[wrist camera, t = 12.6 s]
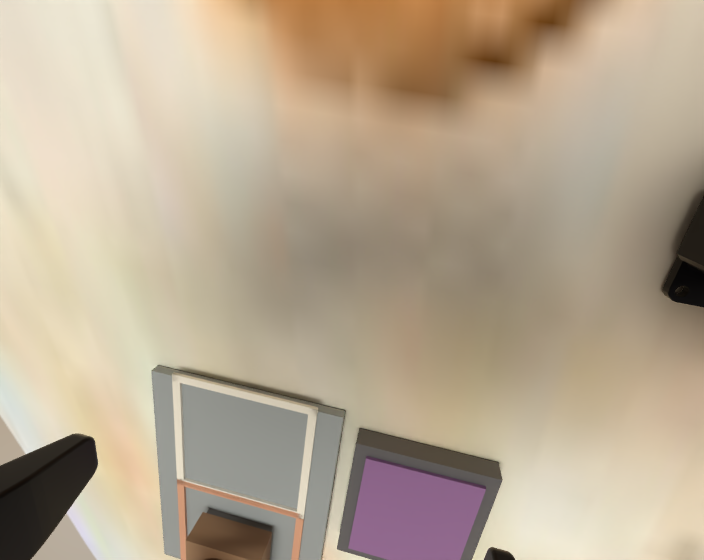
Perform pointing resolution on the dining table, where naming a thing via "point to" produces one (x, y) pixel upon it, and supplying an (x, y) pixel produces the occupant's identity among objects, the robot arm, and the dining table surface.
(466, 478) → the ink pad
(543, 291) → the dining table surface
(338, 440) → the board
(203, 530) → the stamp
